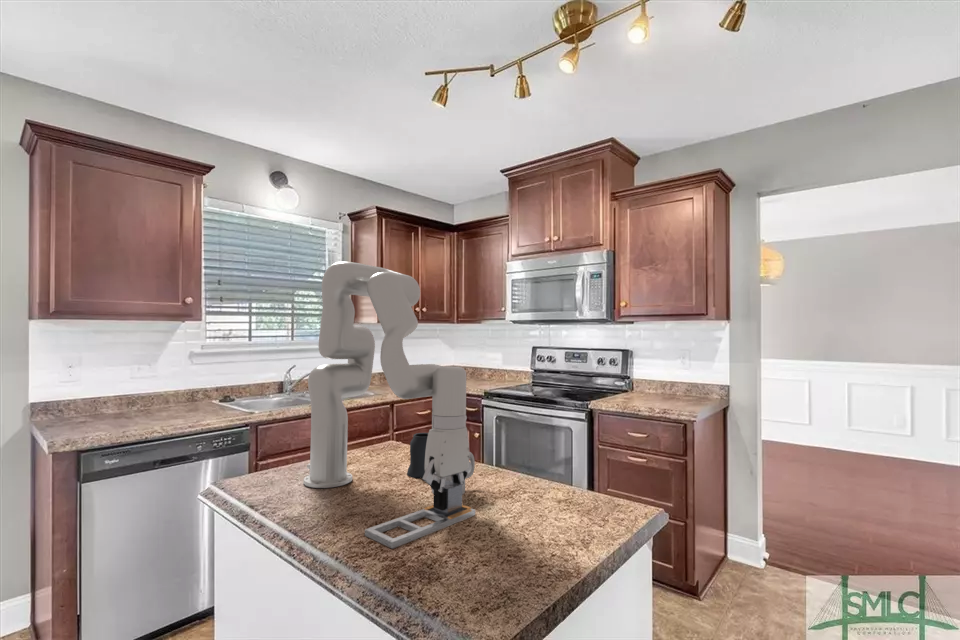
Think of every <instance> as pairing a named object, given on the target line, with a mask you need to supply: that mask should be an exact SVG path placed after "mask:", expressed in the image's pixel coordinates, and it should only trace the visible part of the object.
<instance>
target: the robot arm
mask: <svg viewBox="0 0 960 640" xmlns="http://www.w3.org/2000/svg"><path fill="white" fill-rule="evenodd" d="M322 276H323V277H322V280H321V299H322V309H321V311H322V312H321V317H320V319H321V320H320V325H319V333H318V334H319V336H318V351H319V354H320V355H321V356H322V357H323V358H325V359H328V360H347V363H326V364H322V365H321V364H320V365H318V366H316V367H315V368H313V369H312V370H311V371H310V373H309V375H308V378H307V386H308V392H309V398H310V399H309V400H310V450H309V451H310V453H309V454H310V457H309V463H307V465H306V469H307V470H309V475H306V476H305V477H303V481H302V483H303V485H304V486H305V487H308V488H314V489H315V488H316V489H330V488H336V487H342V486H344V485H348V484H349V483H351V482H353V481H352V480H353V475H352V473H350V472H348V471H347V470H348V469H347V468H348V465H347V464H348V434H349V432H348V431H349V429H348V427H349V422H348V421H349V417H348V412H347V408H346V406H345V404H344V402H343V401H342V399H344V398H353V397H360V396H362V395H364V394H365V393H367V391H368V390H369V389H370V385H371V381H372V375H373V367H374V358H375V352H376V350H375V348H376V342H375V337H374V334H373V333H372V331H371V330H370V329H369V328H368V327H367V326H364V325H354V323H355V322H354V321H355V314H356V310H355V306H354V303H353V300H352V299H351V297H350V296H353V295H354V296H359V297H368V298H369V299H370V301H371V304H372V306H373V309H374V312H375V314H376V317H377V318H378V321H379V324H380V326H381V327H382V330H383V334H384V337H383V339H382V342H381V347H380V356H379V357H380V360H379V361H380V365H381V370H382V372H383V374H384V377H385V380H386V382H387V384H388V387H389V388H390V390H391V391H392V393H393V394H394V395H395V396H396V397H398V398H400V399H403V400H410V399H411V400H413V399H418V398H427V397H432V398H431V400H432V401H431V402H432V403H431V408H432V409H431V429H429V430H428V432H427V433H428V437H427V443H426V451H425V474H424V476H423V478H422V481H423V482H425V483H426V484H428V485H429V487H430V488H431V491H432V490H434V494H433V500H432V501H433V503H432V505H433V506H434V508H436V509H439V510H442V511H443V510H445V501H446V492H445V491H443V490H444V485H445V479H446V477H448V476H451V477H452V482H455V483H458V484H462V486H463V485H464V480H465V481H466V479H465V478H466V476H467V473H468V472H469V471H470V470H471V468H472V465H471V464H470V458H469V452H470V442H469V441H470V440H469V434H468V428H467V419H468V416H467V371H466V370H465V368H464V367H461V366H452V365H451V366H449V365H448V366H447V365H446V366H443V365H439V364H434V363H428V364H427V363H426V364H423V363H422V364H410V363H409V361H408V359H407V357H406V354H405V351H404V346H403V344H404V343H403V342H404V341H403V340H404V338H406V337H408V336H409V335H411V334H412V333H413V332H415V330H416V328H417V327H418V325H419V322H418V318H417V316H416V315H415V311H414V310H413V307H414V306H415V305H416V304H417V303H418V302H419V300H420V297H421V288H420V285H419V283H418V281H417V280H416V279H415V278H414V277H412V276H411V275H408V274H404V273H401V272H398V271H395V270H391V269H388V268H384V267H380V266H375V265H369V264H364V263H359V262H352V261H338V262H334V263H332V264H331V265H329V267H327V269H326V270H325V272H324V274H323V275H322ZM432 475H433V478H432ZM438 479H440V481H439V483H438Z"/></svg>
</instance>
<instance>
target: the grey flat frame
mask: <svg viewBox="0 0 960 640" xmlns="http://www.w3.org/2000/svg"><path fill="white" fill-rule="evenodd" d="M474 516H476V509H474V508H472V507H471V506H468V505H465V504H462V511H461V512H458V513H455V514H453V515H450V516H448V517H445V516H442V515H440V514H437V513H434V506H433V504H432V505H430V506H429V505H428V506H427V507H424V508H423V509H420V510H417V511H415V512H412V513H407V514H406V515H402V516H400V517H397V518H394V519H392V520H389V521H385V522H382V523H379V524H377V525H374V526H371V527H368V528H365V529H364V537H366V538H369V539H371V540H373V541H375V542H376V543H379V544H381V545H383V546H386V547H388V548H389V549H392V550H393V549H395V548H397V547H401V546H403V545H406V544H408V543H410V542H412V541H415V540H417V539H420V538H422V537H425V536H427V535H430V534H432V533H435V532H437V531H439V530H442V529H445V528H447V527H450V526H452V525H454V524H456V523H460V522H462V521H464V520H467V519H469V518H471V517H474ZM423 518H426V519H429V520H432V521H433V523H429V524H428V525H424V526H420V525H417V524H415V523H412V522H414V521H417V520H420V519H423ZM396 528H400V529H404V530H406V531H408V532H407V533H404V534H402V535H399V536H396V537H394V538H393V537H392V536H389V535H388V534H385V533H384V532H387V531H390V530H392V529H396Z"/></svg>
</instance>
